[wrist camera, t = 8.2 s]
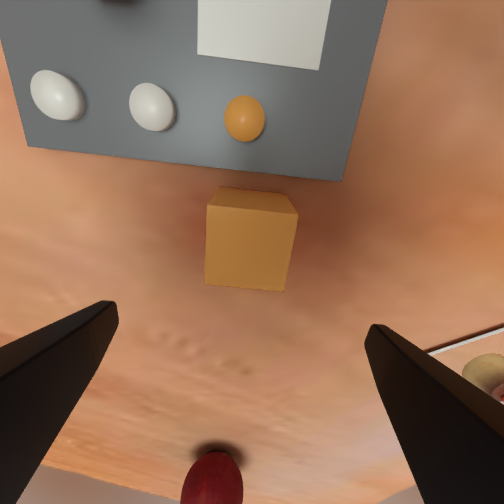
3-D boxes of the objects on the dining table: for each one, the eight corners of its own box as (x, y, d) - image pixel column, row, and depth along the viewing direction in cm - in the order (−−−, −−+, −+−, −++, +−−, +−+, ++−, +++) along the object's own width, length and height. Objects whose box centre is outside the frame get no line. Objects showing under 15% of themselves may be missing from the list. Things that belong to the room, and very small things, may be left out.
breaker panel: (403, -105, 12) (437, -162, 10) (334, 178, 18) (346, 184, 16) (-28, -177, 11) (-98, -257, 9) (45, 146, 17) (14, 146, 15)
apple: (248, 440, 32) (247, 528, 25) (240, 472, 35) (236, 558, 28) (191, 435, 31) (173, 523, 24) (188, 467, 35) (171, 554, 27)
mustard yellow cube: (285, 193, 19) (298, 214, 13) (275, 252, 21) (283, 291, 15) (220, 186, 18) (206, 204, 13) (217, 246, 20) (204, 284, 15)
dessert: (434, 410, 30) (465, 455, 26) (412, 347, 26) (445, 389, 21) (541, 379, 28) (594, 423, 23) (537, 304, 23) (603, 342, 19)
